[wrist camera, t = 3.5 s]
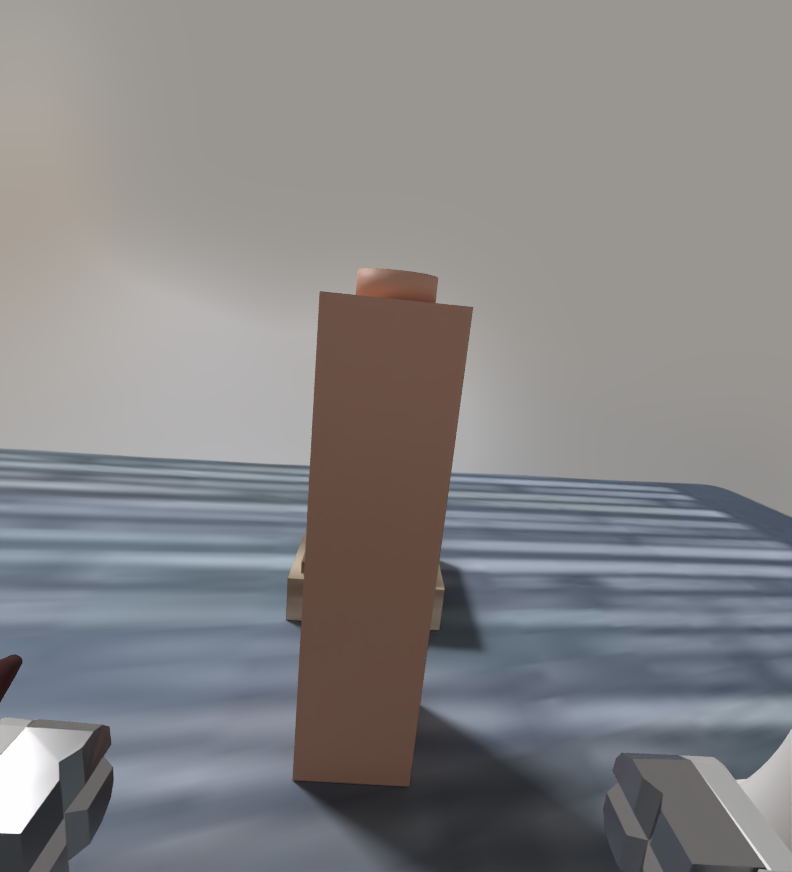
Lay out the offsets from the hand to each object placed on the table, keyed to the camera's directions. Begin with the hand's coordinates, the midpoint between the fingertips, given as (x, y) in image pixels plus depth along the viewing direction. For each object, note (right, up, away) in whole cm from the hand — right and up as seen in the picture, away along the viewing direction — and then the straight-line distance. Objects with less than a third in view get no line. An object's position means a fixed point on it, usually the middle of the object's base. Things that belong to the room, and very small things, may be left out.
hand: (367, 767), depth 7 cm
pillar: (-1, -9, +15) cm, 17 cm away
